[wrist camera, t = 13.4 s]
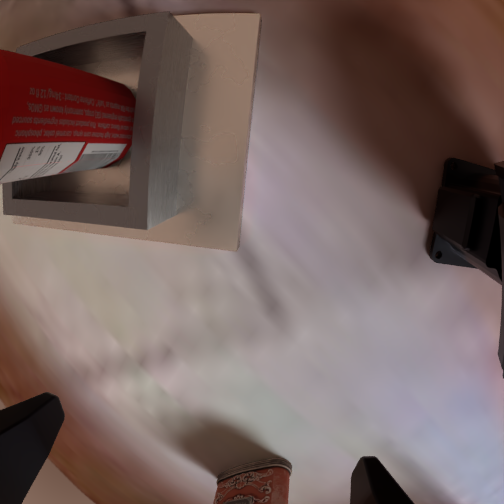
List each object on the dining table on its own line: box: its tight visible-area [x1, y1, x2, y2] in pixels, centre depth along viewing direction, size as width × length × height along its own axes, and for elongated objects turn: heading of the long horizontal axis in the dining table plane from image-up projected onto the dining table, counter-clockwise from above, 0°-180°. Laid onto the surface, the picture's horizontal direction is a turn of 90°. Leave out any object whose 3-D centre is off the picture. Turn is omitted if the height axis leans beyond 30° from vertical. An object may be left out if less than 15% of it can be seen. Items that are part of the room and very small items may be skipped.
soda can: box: [0, 49, 136, 184], centre depth 11 cm, size 6×6×12 cm
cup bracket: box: [3, 12, 262, 252], centre depth 16 cm, size 18×14×5 cm
